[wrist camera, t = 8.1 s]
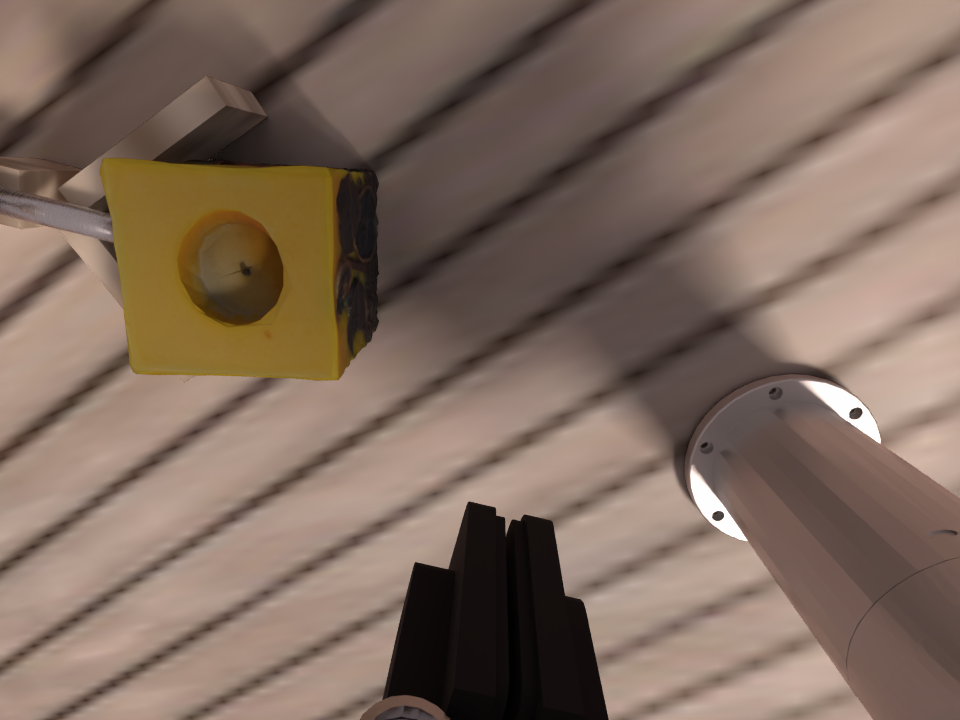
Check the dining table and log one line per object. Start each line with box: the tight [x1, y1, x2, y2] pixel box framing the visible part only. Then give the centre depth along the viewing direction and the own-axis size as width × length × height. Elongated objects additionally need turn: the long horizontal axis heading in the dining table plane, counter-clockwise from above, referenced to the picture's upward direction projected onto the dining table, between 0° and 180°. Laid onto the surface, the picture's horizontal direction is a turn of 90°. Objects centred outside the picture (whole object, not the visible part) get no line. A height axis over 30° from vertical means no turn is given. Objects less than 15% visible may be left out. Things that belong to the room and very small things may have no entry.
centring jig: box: [0, 76, 268, 383], centre depth 30 cm, size 13×16×5 cm
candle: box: [99, 158, 379, 380], centre depth 28 cm, size 10×10×10 cm
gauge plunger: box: [0, 186, 114, 243], centre depth 26 cm, size 11×4×4 cm, turn 76°
